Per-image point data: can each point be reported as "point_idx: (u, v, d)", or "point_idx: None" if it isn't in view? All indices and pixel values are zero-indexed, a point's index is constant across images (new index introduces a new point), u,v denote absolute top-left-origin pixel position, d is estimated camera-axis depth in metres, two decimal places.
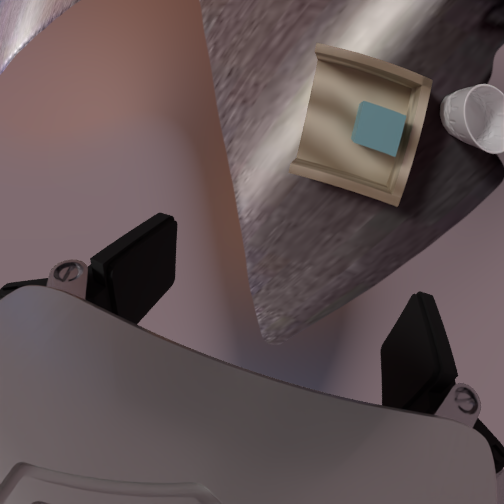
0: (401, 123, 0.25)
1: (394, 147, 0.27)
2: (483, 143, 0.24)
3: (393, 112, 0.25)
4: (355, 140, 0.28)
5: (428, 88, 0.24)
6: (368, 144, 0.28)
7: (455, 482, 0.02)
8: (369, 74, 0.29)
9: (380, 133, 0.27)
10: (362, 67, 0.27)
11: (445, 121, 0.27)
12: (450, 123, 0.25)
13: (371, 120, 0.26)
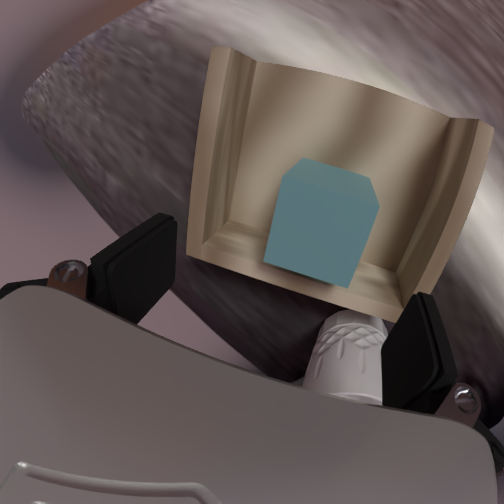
0: (331, 277, 0.15)
1: (281, 260, 0.16)
2: None
3: (354, 264, 0.14)
4: (287, 180, 0.14)
5: (396, 319, 0.17)
6: (282, 207, 0.14)
7: (455, 482, 0.02)
8: (422, 204, 0.18)
9: (307, 234, 0.15)
10: (439, 200, 0.15)
11: (343, 322, 0.23)
12: (339, 339, 0.21)
13: (335, 218, 0.14)
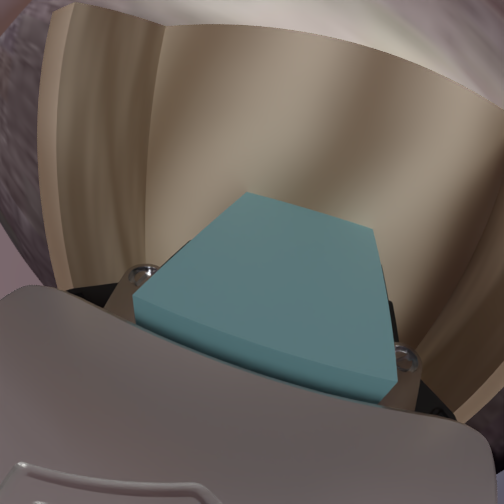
0: None
1: None
2: None
3: None
4: (145, 305, 0.05)
5: None
6: None
7: (455, 482, 0.02)
8: (460, 273, 0.10)
9: None
10: (501, 284, 0.07)
11: None
12: None
13: None
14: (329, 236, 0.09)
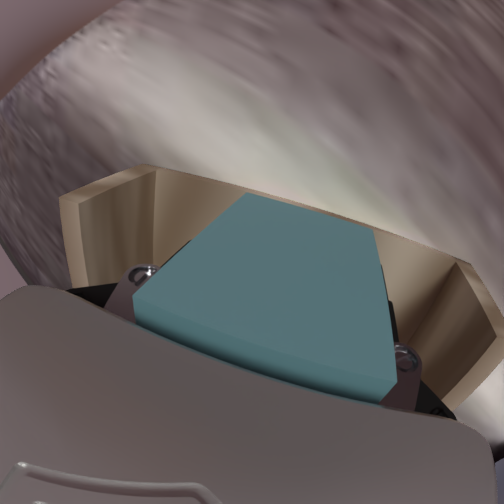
0: None
1: None
2: None
3: None
4: (145, 306, 0.05)
5: None
6: None
7: (455, 482, 0.02)
8: None
9: None
10: None
11: None
12: None
13: None
14: (329, 236, 0.09)
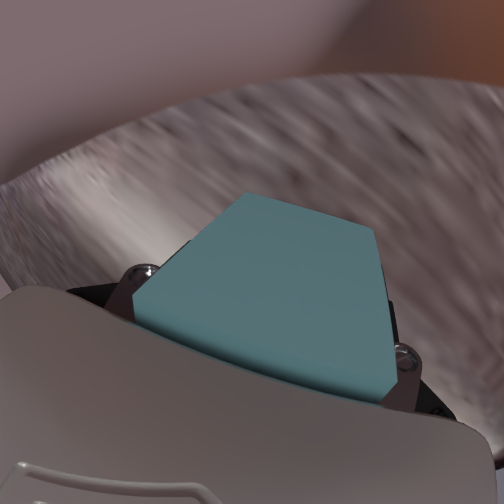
0: None
1: None
2: None
3: None
4: (145, 306, 0.05)
5: None
6: None
7: (455, 482, 0.02)
8: None
9: None
10: None
11: None
12: None
13: None
14: (329, 236, 0.09)
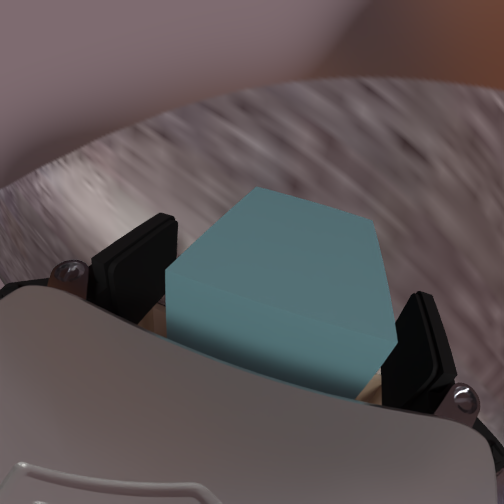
0: None
1: None
2: None
3: None
4: (177, 279, 0.06)
5: None
6: (179, 328, 0.07)
7: (455, 482, 0.02)
8: None
9: None
10: None
11: None
12: None
13: (291, 361, 0.06)
14: (333, 225, 0.10)
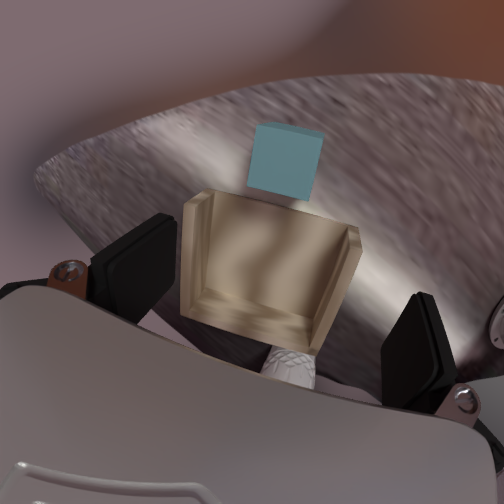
0: (295, 193, 0.22)
1: (259, 183, 0.22)
2: None
3: (310, 182, 0.21)
4: (260, 127, 0.20)
5: (306, 352, 0.31)
6: (257, 145, 0.21)
7: (455, 482, 0.02)
8: (327, 280, 0.32)
9: (275, 162, 0.21)
10: (330, 286, 0.29)
11: (281, 348, 0.36)
12: (276, 360, 0.34)
13: (294, 150, 0.20)
14: (306, 130, 0.24)
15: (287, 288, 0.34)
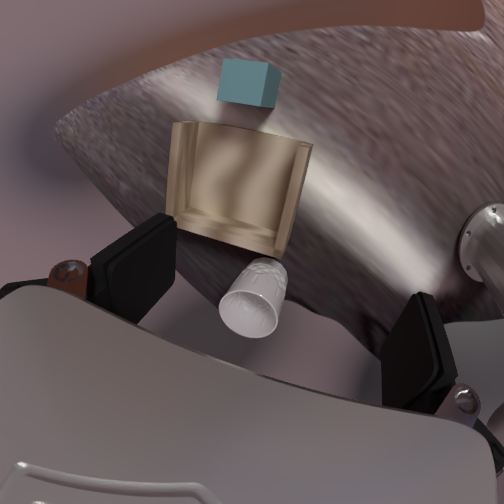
0: (250, 101, 0.27)
1: (225, 97, 0.28)
2: (236, 301, 0.41)
3: (260, 92, 0.26)
4: (226, 59, 0.25)
5: (271, 254, 0.36)
6: (224, 71, 0.26)
7: (455, 482, 0.02)
8: None
9: (236, 81, 0.26)
10: None
11: (253, 263, 0.42)
12: (247, 270, 0.40)
13: (248, 72, 0.26)
14: None
15: (257, 201, 0.39)
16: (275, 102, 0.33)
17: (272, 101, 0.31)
